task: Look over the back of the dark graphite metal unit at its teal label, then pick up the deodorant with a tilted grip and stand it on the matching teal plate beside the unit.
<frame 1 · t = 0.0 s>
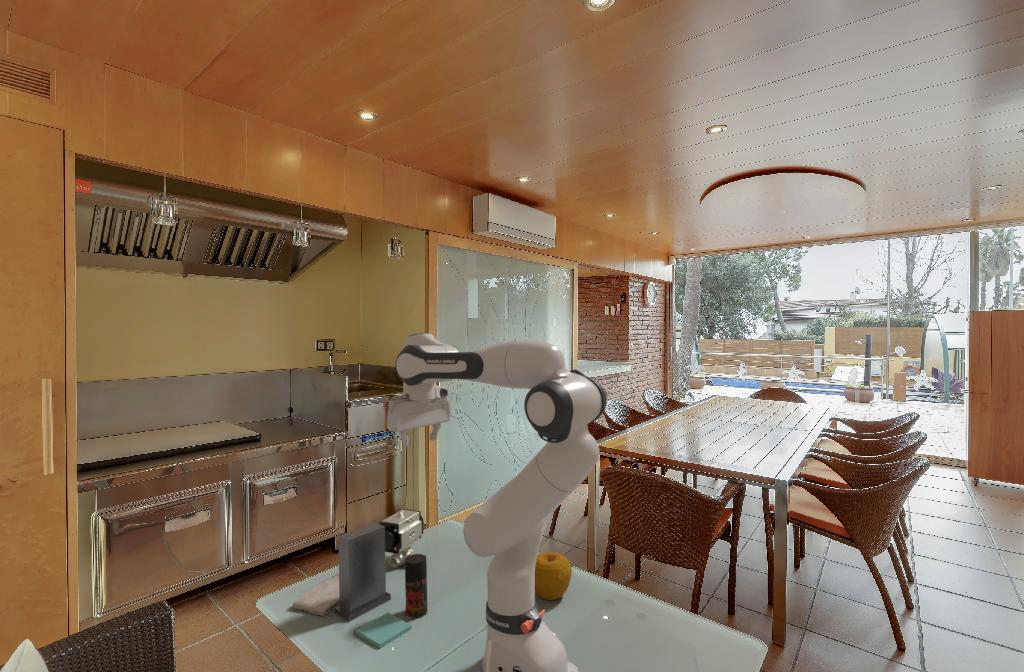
hand: (420, 443, 131), 48 cm above the table, tool pointing down, fingers open, 8 cm apart
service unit: (363, 606, 138), on the table
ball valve: (403, 564, 164), on the table
apple: (550, 595, 142), on the table
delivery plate: (384, 631, 126), on the table
washcloth: (331, 600, 143), on the table
deodorant: (416, 613, 134), on the table
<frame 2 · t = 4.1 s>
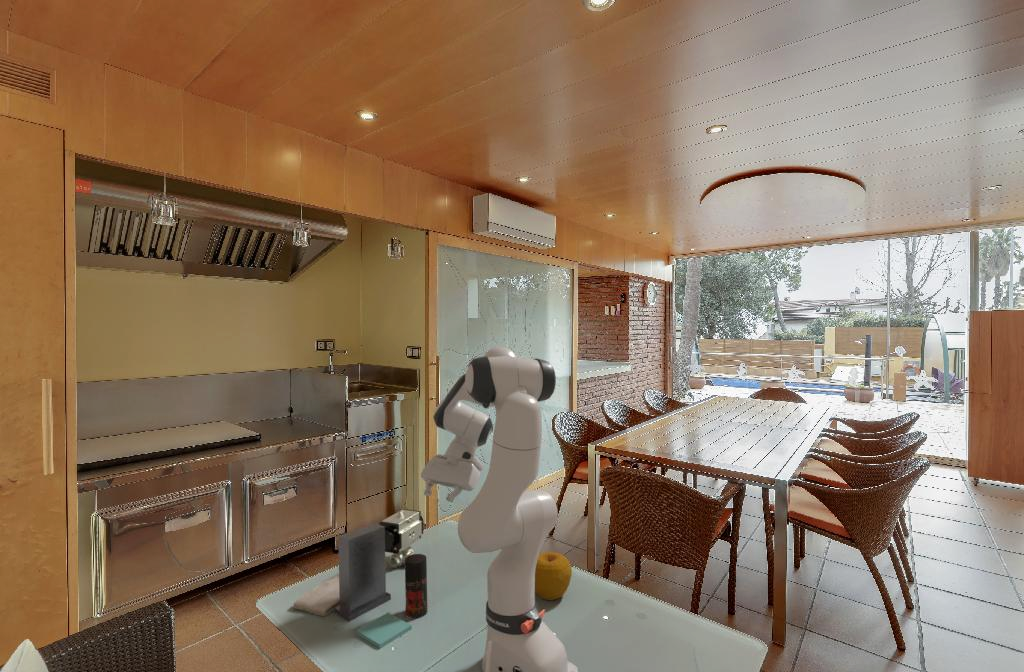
hand: (437, 498, 143), 29 cm above the table, tool tilted 45°, fingers open, 8 cm apart
nothing on the table moved.
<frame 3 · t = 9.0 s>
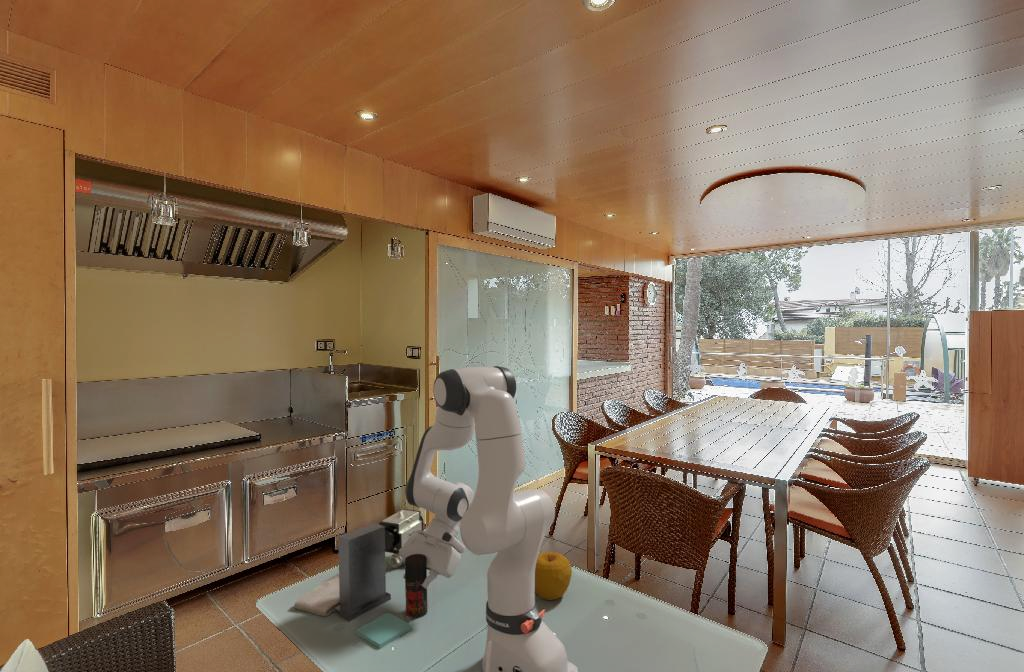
hand: (414, 583, 134), 8 cm above the table, tool tilted 45°, fingers closed on deodorant, 6 cm apart
deodorant: (416, 613, 134), on the table, touching gripper
everything else where it was.
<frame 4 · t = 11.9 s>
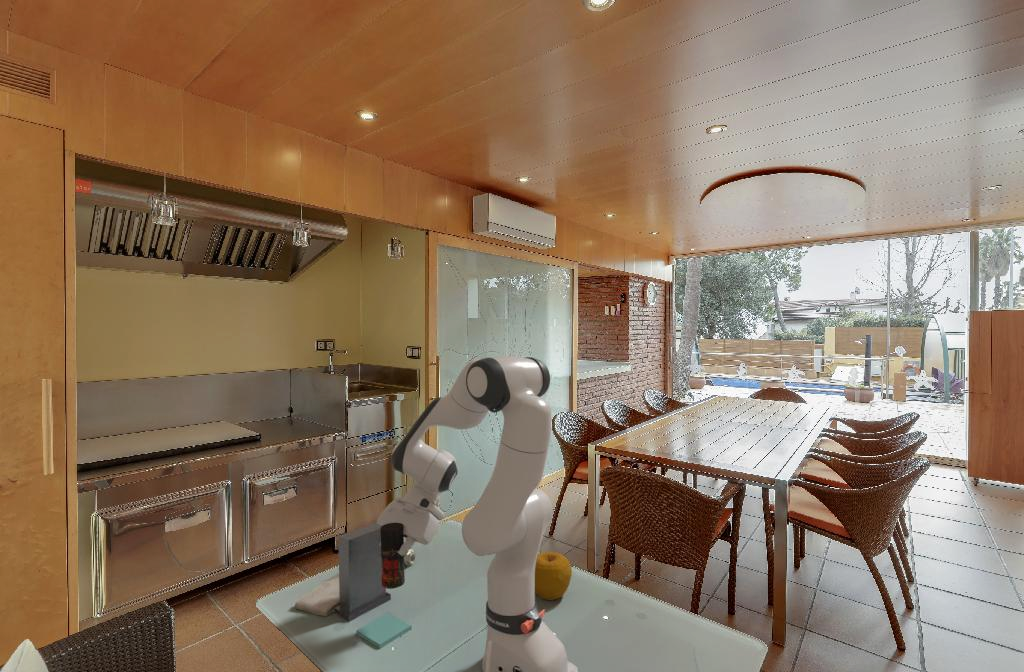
hand: (390, 550, 128), 20 cm above the table, tool tilted 45°, fingers closed on deodorant, 6 cm apart
deodorant: (393, 583, 128), point 11 cm above the table, touching gripper
everything else where it was.
when the fingers open (11 cm above the table, at t = 15.1 s): deodorant stays where it is, resting on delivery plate.
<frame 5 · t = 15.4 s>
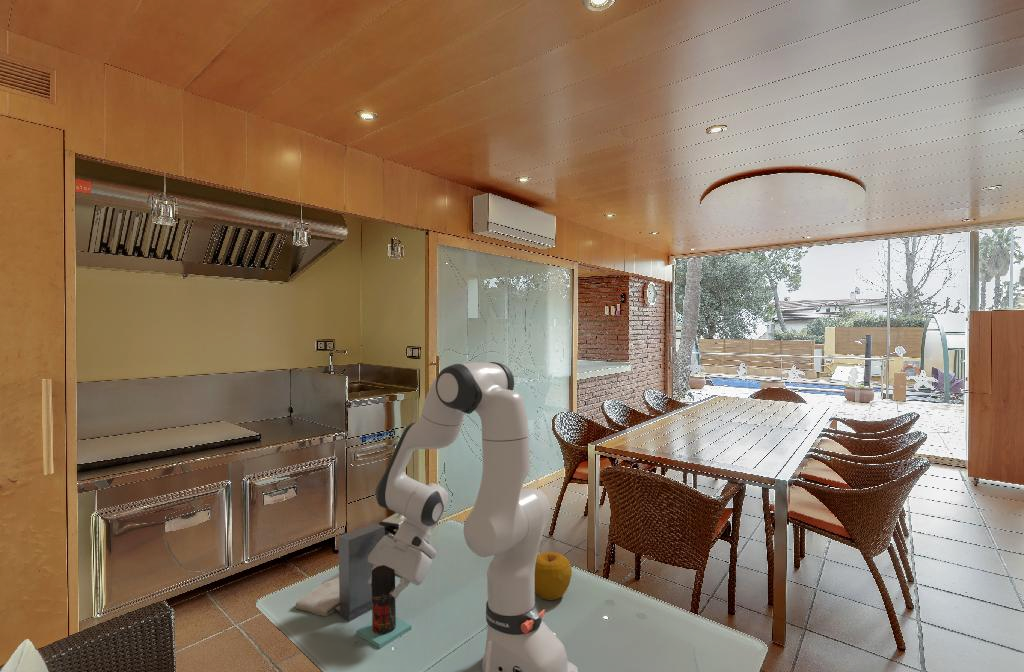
hand: (381, 590, 125), 11 cm above the table, tool tilted 45°, fingers open, 8 cm apart
deodorant: (384, 628, 126), point 1 cm above the table, touching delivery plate
everything else where it was.
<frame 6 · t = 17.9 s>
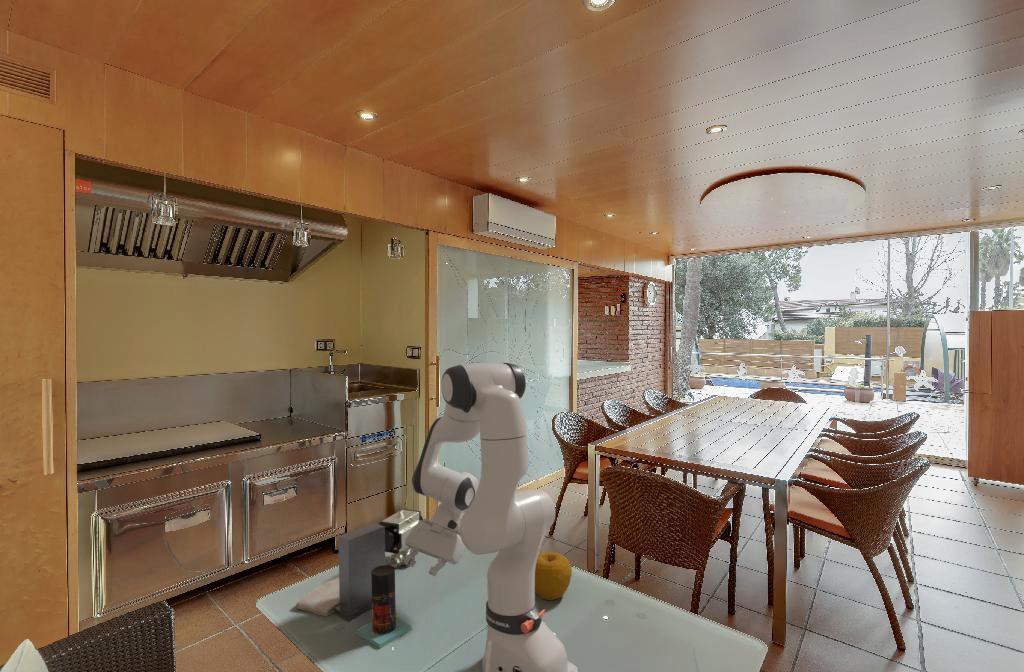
hand: (420, 570, 135), 11 cm above the table, tool tilted 45°, fingers open, 8 cm apart
nothing on the table moved.
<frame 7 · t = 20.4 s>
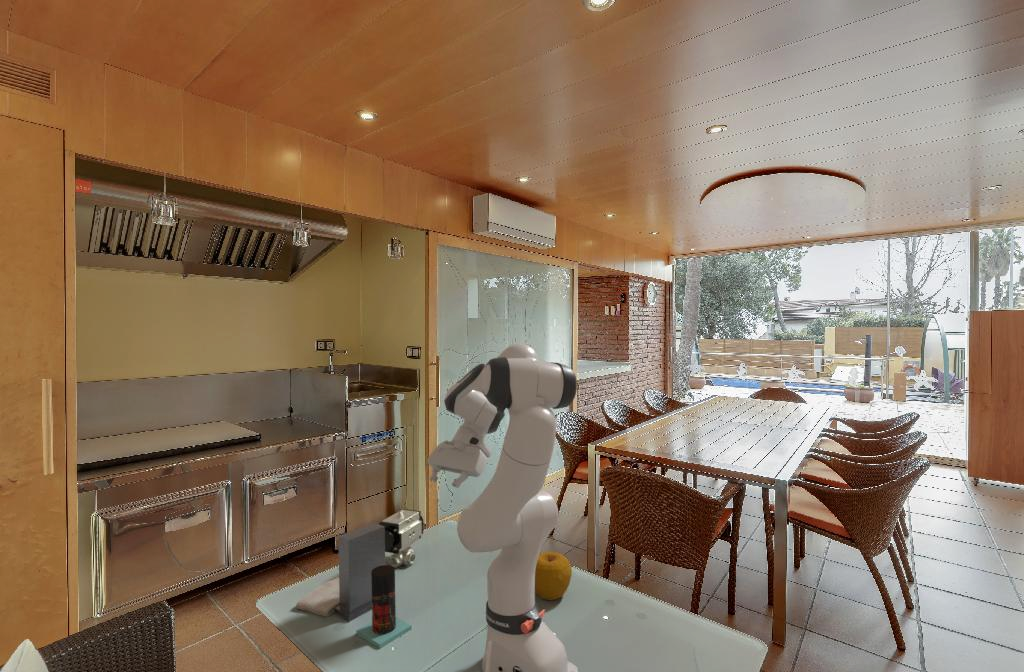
hand: (443, 483, 139), 34 cm above the table, tool tilted 45°, fingers open, 8 cm apart
at the end: deodorant inside the target area on the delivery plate (0.1 cm from its centre), point 0.8 cm above the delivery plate's base; deodorant tilted 0°; the gripper is holding nothing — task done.
